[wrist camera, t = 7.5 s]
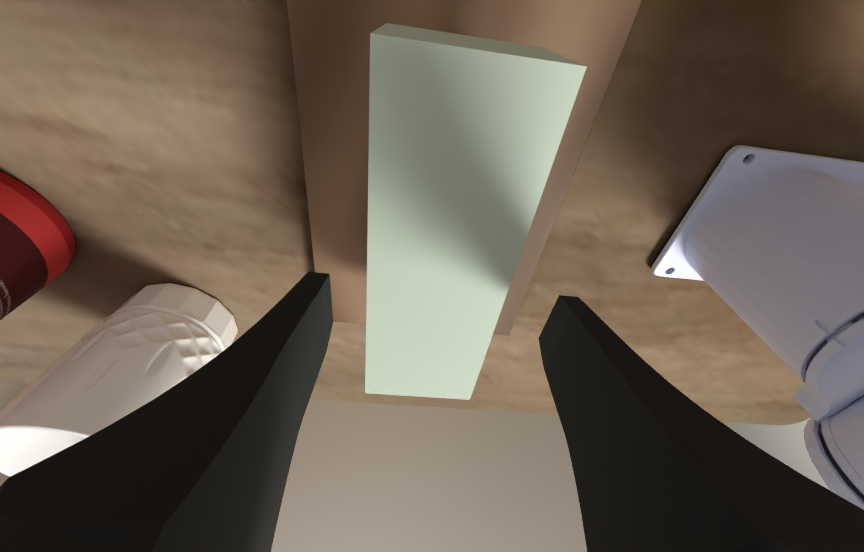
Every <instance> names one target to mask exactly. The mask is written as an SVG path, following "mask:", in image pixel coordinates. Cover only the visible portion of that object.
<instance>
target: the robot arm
mask: <svg viewBox="0 0 864 552" xmlns="http://www.w3.org/2000/svg"><path fill="white" fill-rule="evenodd" d="M747 155H749V156H748V158H747V159H746V160H744V158H745V157H746V156H747ZM743 160H744V161H743ZM669 268H670V269H669ZM667 269H668V270H667ZM651 271H652V272H653V273H654V274H655V275H656V276H663V277H673V278H683V279H693V280H703V281H705V282H706V283H707V284H708V285H709V286H710V287H711V288H712V289H713V290H714V291H715V292H716V293H717V294H718V295H719V296H720V297H721V298H722V299H723V300H724V301H725V302H726V303H727V304H728V305H729V306H730V307H731V308H732V309H733V310H734V311H735V312H736V313H737V314H738V315H739V316H740V318H741V319H742V320H743V321H744V322H745V323H746V324H747V325H748V326H749V327H750V328H751V329H752V330H753V331H754V332H755V333H756V334H757V335H758V336H759V337H760V338H761V339H762V340H763V341H764V342H765V343H766V344H767V345H768V346H769V347H770V348H771V349H772V350H773V351H774V352H775V353H776V354H777V355H778V356H779V357H780V358H781V359H782V360H783V361H784V363H785V364H786V365H787V366H788V367H789V368H790V369H791V370H792V371H793V372H794V373H795V374H796V375H797V376H798V377H799V378H800V379H801V380H802V381H803V382H804V385H803V386H802V387H801V388H800V389H799V390H798V391H797V392H796V393H795V394H794V395H793V396H794V397H795V398H796V399H797V401H798V402H799V403H800V404H801V405H802V406H803V407H804V408H805V409H806V410H807V411H808V413H809V414H810V415H811V416H812V418H811V419H810V420H809V421H808V422H807V424H806V426H805V429H804V439H805V444H806V448H807V451H808V453H809V455H810V457H811V460H812V462H813V463H814V465H815V467H816V469H817V470H818V472H819V474H820V476H821V477H822V479H823V480H824V482H825V483H826V485H827V486H828V488H829V489H830V490H831V491H830V490H828V489H826V488H824V487H823V486H821V485H819V484H817V483H816V482H814V481H812V480H810V479H808V478H807V477H805V476H803V475H802V474H800V473H798V472H797V471H795V470H793V469H792V468H790V467H789V466H787V465H785V464H784V463H782V462H781V461H779V460H777V459H776V458H774V457H772V456H771V455H769V454H768V453H766V452H764V451H763V450H761V449H760V448H758V447H757V446H755V445H754V444H752V443H751V442H749V441H748V440H746V439H745V438H743V437H742V436H740V435H739V434H737V433H736V432H734V431H733V430H731V429H730V428H729V427H727V426H726V425H724V424H723V423H721V422H720V421H719V420H717V419H716V418H714V417H713V416H712V415H710V414H709V413H708V412H706V411H705V410H703V409H702V408H701V407H699V406H698V405H697V404H696V403H694V402H693V401H692V400H690V399H689V398H688V397H687V396H685V395H684V394H683V393H681V392H680V391H679V390H678V389H676V388H675V387H674V386H673V385H672V384H670V383H669V382H668V381H667V380H665V379H664V378H663V377H662V376H661V375H660V374H659V373H657V372H656V371H655V370H654V369H653V368H652V367H651V366H650V365H648V364H647V363H646V362H645V361H644V360H643V359H642V358H641V357H640V356H638V355H637V354H636V353H635V352H634V351H633V350H632V349H631V348H630V347H629V346H628V345H627V344H626V343H625V342H624V341H623V340H622V339H621V338H620V337H618V336H617V335H616V334H615V333H614V332H613V331H612V330H611V329H610V328H609V327H608V326H607V325H606V324H605V323H604V322H603V321H602V320H601V319H600V318H599V317H598V316H597V315H596V314H595V313H594V312H593V311H592V310H591V309H590V308H589V307H588V306H587V305H586V304H585V303H584V302H583V301H582V300H580V299H579V298H578V297H572V296H561V295H559V297H558V299H557V301H556V303H555V305H554V307H553V310H552V312H551V314H550V316H549V318H548V320H547V322H546V324H545V326H544V328H543V330H542V332H541V335H540V337H539V343H540V349H541V355H542V361H543V366H544V370H545V373H546V376H547V380H548V383H549V386H550V389H551V392H552V395H553V399H554V402H555V405H556V408H557V411H558V414H559V417H560V420H561V423H562V427H563V430H564V432H565V437H566V440H567V444H568V448H569V452H570V457H571V461H572V466H573V471H574V475H575V481H576V486H577V491H578V497H579V502H580V508H581V513H582V520H583V526H584V532H585V539H586V546H587V552H864V162H860V161H852V160H845V159H838V158H831V157H823V156H816V155H809V154H802V153H794V152H787V151H780V150H773V149H766V148H758V147H751V146H744V145H738V146H735V147H733V148H731V149H730V150H729V151H728V152H727V153H726V154H725V156H724V157H723V159H722V160H721V162H720V163H719V165H718V166H717V168H716V169H715V171H714V172H713V174H712V176H711V177H710V179H709V180H708V182H707V183H706V185H705V186H704V188H703V189H702V191H701V192H700V194H699V195H698V197H697V198H696V200H695V201H694V203H693V204H692V206H691V207H690V209H689V211H688V212H687V214H686V215H685V217H684V218H683V220H682V221H681V223H680V224H679V226H678V227H677V229H676V230H675V232H674V233H673V235H672V236H671V238H670V239H669V241H668V242H667V244H666V246H665V247H664V249H663V250H662V252H661V253H660V255H659V256H658V258H657V259H656V261H655V262H654V264H653V265H652V267H651ZM332 324H333V313H332V299H331V285H330V274H328V273H317V272H308V273H307V274H306V275H305V276H304V277H303V278H302V279H301V280H300V281H299V282H298V283H297V284H296V285H295V286H294V287H293V288H292V289H291V290H290V291H289V292H288V293H287V294H286V295H285V296H284V297H283V298H282V299H281V300H280V301H279V302H278V303H277V304H276V305H275V306H274V307H273V308H272V309H271V310H270V311H269V312H268V313H267V314H266V315H265V316H264V317H262V318H261V319H260V320H259V321H258V322H257V323H256V324H255V325H254V326H252V327H251V328H250V329H249V330H248V331H247V332H245V333H244V334H243V335H242V336H241V337H240V338H238V339H237V340H236V341H235V342H234V343H233V344H231V345H230V346H229V347H228V348H226V349H225V350H224V351H223V352H221V353H220V354H219V355H217V356H216V357H215V358H213V359H212V360H211V361H209V362H208V363H207V364H205V365H204V366H203V367H201V368H200V369H198V370H197V371H196V372H194V373H193V374H191V375H190V376H188V377H187V378H185V379H184V380H182V381H181V382H179V383H178V384H176V385H175V386H173V387H172V388H170V389H169V390H167V391H166V392H164V393H163V394H161V395H160V396H158V397H156V398H155V399H153V400H152V401H150V402H148V403H147V404H145V405H143V406H142V407H140V408H138V409H136V410H135V411H133V412H131V413H130V414H128V415H126V416H125V417H123V418H121V419H119V420H118V421H116V422H114V423H112V424H111V425H109V426H107V427H105V428H104V429H102V430H100V431H98V432H96V433H94V434H93V435H91V436H89V437H87V438H85V439H83V440H81V441H80V442H78V443H76V444H74V445H72V446H70V447H68V448H66V449H64V450H62V451H60V452H58V453H56V454H54V455H52V456H50V457H48V458H46V459H44V460H42V461H40V462H38V463H36V464H35V465H33V466H31V467H29V468H27V469H25V470H23V471H21V472H19V473H16V474H14V475H12V476H10V477H9V478H8V479H7V480H6V481H5V482H4V483H3V484H2V485H1V486H0V552H271V546H272V543H273V538H274V533H275V528H276V524H277V520H278V515H279V511H280V506H281V502H282V497H283V493H284V489H285V485H286V481H287V476H288V472H289V467H290V464H291V460H292V456H293V452H294V448H295V444H296V439H297V435H298V431H299V429H300V425H301V422H302V419H303V416H304V413H305V410H306V407H307V405H308V402H309V399H310V396H311V393H312V391H313V388H314V385H315V382H316V379H317V377H318V374H319V371H320V368H321V365H322V362H323V359H324V357H325V354H326V351H327V346H328V342H329V338H330V333H331V328H332Z"/></svg>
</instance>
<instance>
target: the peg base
mask: <svg viewBox="0 0 864 552" xmlns="http://www.w3.org/2000/svg"><path fill="white" fill-rule="evenodd" d="M286 1H287V11H288V20H289V30H290V39H291V49H292V58H293V68H294V77H295V87H296V96H297V106H298V115H299V125H300V134H301V144H302V153H303V163H304V172H305V182H306V191H307V201H308V210H309V220H310V230H311V239H312V249H313V258H314V268H315V272H317V273H328V274H330V285H331V299H332V313H333V321H334V322H347V323H359V324H366V306H367V233H368V160H369V87H370V33H372V32H373V31H375V30H376V29H378V28H380V27H381V26H383V25H385V24H386V23H390V24H397V25H403V26H409V27H416V28H422V29H429V30H435V31H441V32H448V33H454V34H461V35H467V36H474V37H480V38H486V39H493V40H499V41H506V42H512V43H518V44H525V45H531V46H538V47H543V48H545V49H548V50H550V51H552V52H555V53H557V54H559V55H562V56H564V57H566V58H569V59H571V60H573V61H576V62H578V63H580V64H583V65H585V66H587V68H586V71H585V73H584V76H583V79H582V82H581V85H580V88H579V91H578V93H577V96H576V99H575V102H574V105H573V108H572V110H571V113H570V116H569V119H568V122H567V125H566V128H565V130H564V133H563V136H562V139H561V142H560V145H559V147H558V150H557V153H556V156H555V159H554V162H553V164H552V167H551V170H550V173H549V176H548V179H547V182H546V184H545V187H544V190H543V193H542V196H541V199H540V201H539V204H538V207H537V210H536V213H535V216H534V218H533V221H532V224H531V227H530V230H529V233H528V236H527V238H526V241H525V244H524V247H523V250H522V253H521V255H520V258H519V261H518V264H517V267H516V270H515V272H514V275H513V278H512V281H511V284H510V287H509V290H508V292H507V295H506V298H505V301H504V304H503V307H502V309H501V312H500V315H499V318H498V321H497V324H496V326H495V329H494V332H493V334H496V335H508V336H509V334H510V332H511V329H512V327H513V324H514V322H515V319H516V317H517V314H518V312H519V309H520V307H521V304H522V302H523V299H524V297H525V294H526V292H527V289H528V287H529V284H530V282H531V279H532V276H533V274H534V271H535V269H536V266H537V264H538V261H539V259H540V256H541V254H542V251H543V249H544V246H545V244H546V241H547V239H548V236H549V234H550V231H551V229H552V226H553V224H554V221H555V219H556V216H557V213H558V211H559V208H560V206H561V203H562V201H563V198H564V196H565V193H566V191H567V188H568V186H569V183H570V181H571V178H572V176H573V173H574V171H575V168H576V166H577V163H578V161H579V158H580V156H581V153H582V150H583V148H584V145H585V143H586V140H587V138H588V135H589V133H590V130H591V128H592V125H593V123H594V120H595V118H596V115H597V113H598V110H599V108H600V105H601V103H602V100H603V98H604V95H605V93H606V90H607V87H608V85H609V82H610V80H611V77H612V75H613V72H614V70H615V67H616V65H617V62H618V60H619V57H620V55H621V52H622V50H623V47H624V45H625V42H626V40H627V37H628V35H629V32H630V30H631V27H632V25H633V22H634V19H635V17H636V14H637V12H638V9H639V7H640V4H641V2H642V0H286Z"/></svg>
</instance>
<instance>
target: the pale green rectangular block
mask: <svg viewBox="0 0 864 552" xmlns="http://www.w3.org/2000/svg"><path fill="white" fill-rule="evenodd" d="M586 68H587V66H585V65H583V64H580V63H578V62H576V61H573V60H571V59H569V58H566V57H564V56H562V55H559V54H557V53H555V52H552V51H550V50H548V49H545V48H543V47H538V46H531V45H525V44H518V43H512V42H506V41H499V40H493V39H486V38H480V37H474V36H467V35H461V34H454V33H448V32H441V31H435V30H429V29H422V28H416V27H409V26H403V25H397V24H390V23H386V24H385V25H383V26H381V27H380V28H378V29H376V30H375V31H373V32H372V33H370V87H369V160H368V233H367V306H366V378H365V393H372V394H388V395H404V396H420V397H435V398H451V399H467V400H470V398H471V395H472V392H473V389H474V386H475V383H476V381H477V378H478V375H479V372H480V369H481V366H482V363H483V361H484V358H485V355H486V352H487V349H488V346H489V344H490V341H491V338H492V335H493V332H494V329H495V326H496V324H497V321H498V318H499V315H500V312H501V309H502V307H503V304H504V301H505V298H506V295H507V292H508V290H509V287H510V284H511V281H512V278H513V275H514V272H515V270H516V267H517V264H518V261H519V258H520V255H521V253H522V250H523V247H524V244H525V241H526V238H527V236H528V233H529V230H530V227H531V224H532V221H533V218H534V216H535V213H536V210H537V207H538V204H539V201H540V199H541V196H542V193H543V190H544V187H545V184H546V182H547V179H548V176H549V173H550V170H551V167H552V164H553V162H554V159H555V156H556V153H557V150H558V147H559V145H560V142H561V139H562V136H563V133H564V130H565V128H566V125H567V122H568V119H569V116H570V113H571V110H572V108H573V105H574V102H575V99H576V96H577V93H578V91H579V88H580V85H581V82H582V79H583V76H584V73H585V71H586Z"/></svg>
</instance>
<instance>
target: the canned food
mask: <svg viewBox="0 0 864 552" xmlns="http://www.w3.org/2000/svg"><path fill="white" fill-rule="evenodd" d="M75 248H76V245H75V240H74V236H73V234H72V232H71V230H70V227H69V226H68V224H67V223H66V222H65V220H64V219H63V217H62V216H61V215H60V214H59V213H58V211H57V210H56V209H55V208H54V207H53V206H52V205H51V204H50V203H49V202H47V201H46V200H45V199H44V198H43V197H41V196H40V195H39V194H38V193H36V192H35V191H34V190H32V189H31V188H29V187H28V186H26V185H25V184H23V183H22V182H20V181H18V180H16V179H14V178H12V177H10V176H9V175H7V174H5V173H3V172H0V320H1V319H2V318H4V317H5V316H6V315H8V314H9V313H10V312H12V311H13V310H14V309H16V308H17V307H18V306H20V305H21V304H22V303H23V302H25V301H26V300H27V299H29V298H30V297H31V296H33V295H34V294H35V293H37V292H38V291H39V290H41V289H42V288H43V287H44V286H46V285H47V284H48V283H50V282H51V281H52V280H54V279H55V278H56V277H58V276H59V275H60V274H61V273H63V272H64V271H65V270H66V268H67V266H68V265H69V263H70V261H71V260H72V258H73V256H74V254H75Z"/></svg>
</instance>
